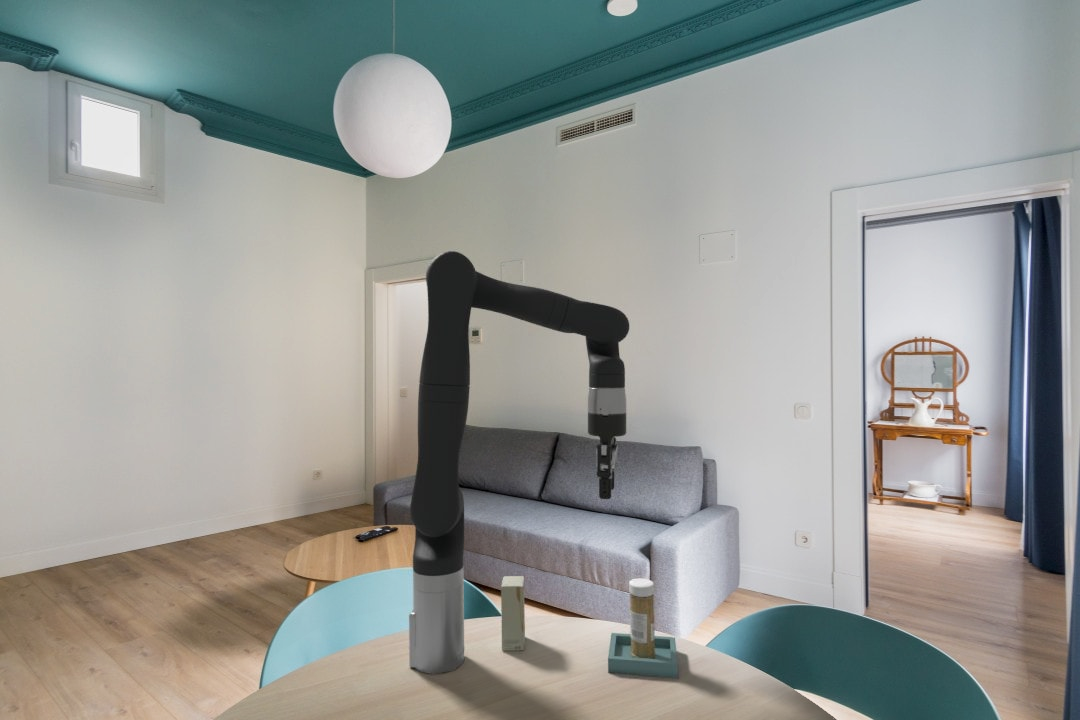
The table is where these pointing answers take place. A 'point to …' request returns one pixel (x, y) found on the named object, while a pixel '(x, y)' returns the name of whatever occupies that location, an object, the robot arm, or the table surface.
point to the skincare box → (513, 613)
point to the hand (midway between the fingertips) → (607, 493)
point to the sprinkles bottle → (642, 618)
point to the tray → (657, 667)
